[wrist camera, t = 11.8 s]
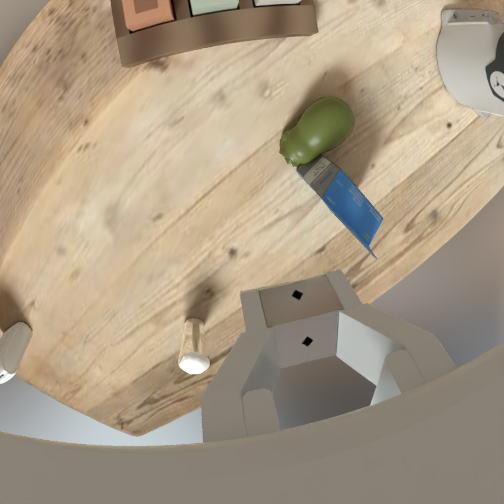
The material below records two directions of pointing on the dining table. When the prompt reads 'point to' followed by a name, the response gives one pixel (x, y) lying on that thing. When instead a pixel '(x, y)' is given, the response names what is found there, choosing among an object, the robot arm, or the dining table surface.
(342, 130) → the pear
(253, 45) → the dining table surface
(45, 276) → the dining table surface
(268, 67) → the dining table surface
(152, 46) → the keypad base
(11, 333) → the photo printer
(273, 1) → the key ivory
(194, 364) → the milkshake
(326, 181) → the label tape cartridge
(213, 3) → the key sage
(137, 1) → the key rust
